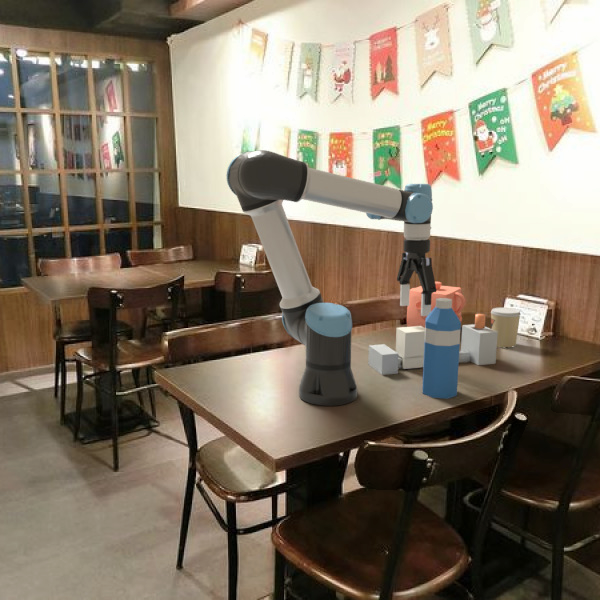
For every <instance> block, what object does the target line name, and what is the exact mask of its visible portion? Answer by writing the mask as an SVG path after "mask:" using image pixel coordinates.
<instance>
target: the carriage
mask: <svg viewBox="0 0 600 600" xmlns="http://www.w3.org/2000/svg"><path fill="white" fill-rule="evenodd" d="M395 329H396V331H395V332H396V333H395V334H396V336H395V337H396V338H395V352H397V353H398V356H400V357H402V358H403V363H402V368H401V369H403V370H406V369H408V370H409V369H419V368H423V365H424V342H425V328H424V327H422V326H413V327H407V326H402V327H401V326H399V327H396V328H395Z"/></svg>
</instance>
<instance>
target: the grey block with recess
mask: <svg viewBox="0 0 600 600" xmlns="http://www.w3.org/2000/svg"><path fill="white" fill-rule="evenodd" d="M497 335H498V332H497V331H495V330H492V329H491V327H487V326H485V328H484V329H478V328H475V323H474V324H473V323H472V324H463V325H462V324H461V338H460V351H463V350H467V351H469V352H470V362H471V363H473V364H475V365H477V366H486V365H494V364H496V362H497V348H498V347H497Z"/></svg>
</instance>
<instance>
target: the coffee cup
mask: <svg viewBox="0 0 600 600" xmlns="http://www.w3.org/2000/svg"><path fill="white" fill-rule="evenodd" d="M520 311H521V310H519V309H516V308H513V307H504V306H503V307H494V308H492V309H491V311H490V314H491V316H490V317H491V318H490V319H491V320H490V324H491V325H490V326H491V327H490V329H492V330H495V331H497V332H498V335H497V346H500V347H512V346H515V347H516V345H517V344H516V343H517V338H518V333H519V332H518V331H519V325H520V317H521V312H520ZM500 347H499V348H500Z"/></svg>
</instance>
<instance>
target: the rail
mask: <svg viewBox="0 0 600 600" xmlns="http://www.w3.org/2000/svg"><path fill="white" fill-rule="evenodd" d="M470 362H471V361H470V352H469V351H467V350H463V351H461V350H459V363H470ZM402 363H403V358H402V357H400V356H398V370H399V369H403V368H402Z"/></svg>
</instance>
